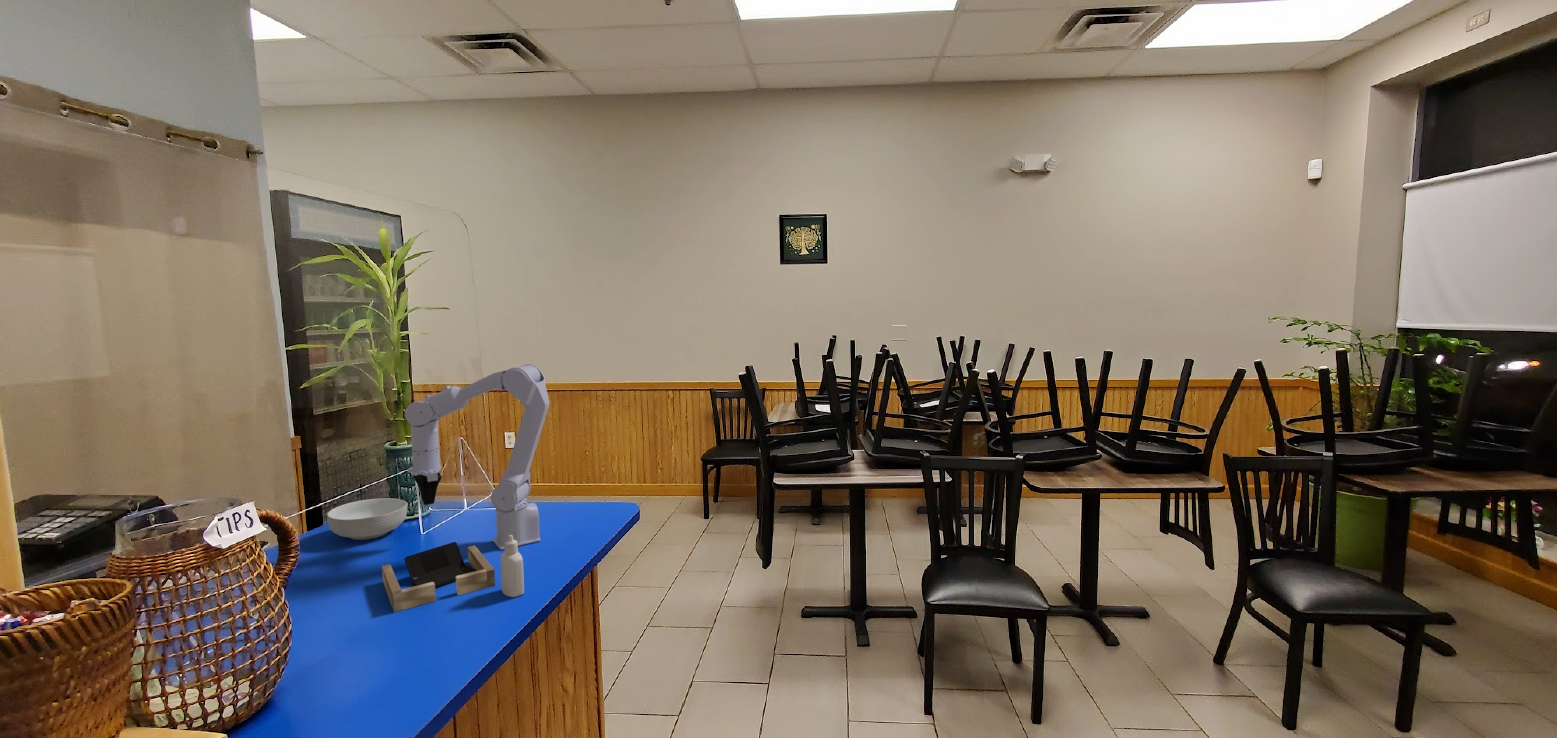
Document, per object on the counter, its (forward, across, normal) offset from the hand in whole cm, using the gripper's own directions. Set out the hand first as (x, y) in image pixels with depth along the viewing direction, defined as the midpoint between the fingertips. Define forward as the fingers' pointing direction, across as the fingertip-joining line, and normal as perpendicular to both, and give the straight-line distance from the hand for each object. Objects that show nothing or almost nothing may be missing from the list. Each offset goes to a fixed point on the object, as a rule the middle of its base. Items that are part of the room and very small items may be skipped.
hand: (428, 503), depth 149 cm
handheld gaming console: (+10, +23, -2) cm, 25 cm away
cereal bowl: (+10, -16, -11) cm, 22 cm away
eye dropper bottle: (+10, +40, +8) cm, 42 cm away
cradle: (+10, +26, -3) cm, 28 cm away
